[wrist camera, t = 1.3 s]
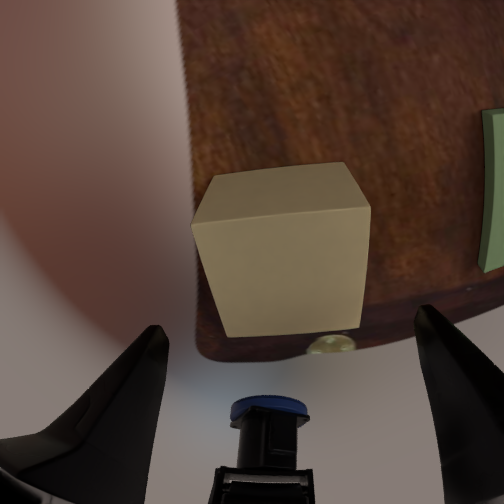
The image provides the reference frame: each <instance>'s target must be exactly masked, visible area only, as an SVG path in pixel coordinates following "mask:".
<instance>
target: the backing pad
mask: <svg viewBox="0 0 504 504" xmlns="http://www.w3.org/2000/svg"><path fill="white" fill-rule="evenodd" d="M482 119H483V131H484V148H485V196H484V213H483V225H482V235H481V243H480V251H479V258H478V265H479V266H480V268H481V269H482V271H483V272H484V273H485V272H488V271H491V270H493V269H496V268H499V267H501V266H504V108H501V109H491V110H482Z"/></svg>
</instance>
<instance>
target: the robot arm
mask: <svg viewBox="0 0 504 504" xmlns="http://www.w3.org/2000/svg"><path fill="white" fill-rule="evenodd" d="M414 331H415V336H416V341H417V347H418V353H419V359H420V365H421V369H422V373H423V377H424V380H425V385H426V389H427V393H428V398H429V402H430V406H431V411H432V415H433V421H434V426H435V431H436V437H437V443H438V449H439V454H440V462H441V471H442V479H443V489H444V501H445V504H504V373H503V372H502V371H501V370H500V369H499V368H498V367H497V366H496V365H494V363H493V362H492V361H491V360H490V359H489V358H488V357H487V356H486V355H485V354H484V353H483V352H482V351H481V350H480V349H479V348H478V347H477V346H476V345H475V344H474V343H472V342H471V341H470V340H469V339H468V338H467V337H466V336H465V335H464V334H463V333H462V332H461V331H460V330H459V329H457V328H456V327H455V326H454V325H453V324H452V323H451V322H450V321H449V320H448V319H447V318H445V317H444V316H443V315H442V314H441V313H440V312H439V311H438V310H436V309H435V308H434V307H433V306H432V305H430V304H426V305H421V306H419V308H418V310H417V314H416V317H415V320H414ZM168 353H169V339H168V337H167V336H166V334H165V332H164V330H163V328H162V327H161V326H160V325H150V326H149V327H147V328H146V329H145V330H144V331H143V333H141V334H140V336H138V338H137V339H136V340H135V341H134V342H133V343H132V344H131V345H130V346H129V347H128V348H127V349H126V350H125V351H124V352H123V353H122V354H121V355H120V356H119V357H118V358H117V359H116V360H115V361H114V362H113V363H112V364H111V365H110V366H109V368H107V369H106V371H105V372H104V373H103V374H102V375H101V376H100V377H99V378H98V379H97V380H96V381H95V382H94V383H93V384H92V385H91V386H90V388H89V389H87V390H86V391H85V393H83V395H82V396H81V397H80V398H79V399H78V400H77V401H76V402H75V403H74V404H73V405H71V407H69V408H68V409H67V410H66V411H65V412H64V413H63V414H61V415H60V416H59V417H58V418H57V419H56V420H55V421H53V422H52V423H51V424H50V425H49V426H48V427H46V428H45V429H44V430H42V431H40V432H38V433H36V434H31V435H25V436H19V437H13V438H7V439H0V467H1V468H0V504H144V501H145V494H146V486H147V481H148V477H147V476H148V473H149V466H150V461H151V455H152V448H153V443H154V438H155V432H156V427H157V421H158V416H159V411H160V406H161V401H162V396H163V391H164V386H165V381H166V372H167V362H168ZM309 420H310V416H309V415H304V414H298V413H292V412H287V411H281V410H276V409H271V408H266V407H261V406H256V405H253V406H250V407H249V408H248V409H246V410H245V411H244V412H243V413H242V414H241V415H239V416H238V417H237V418H236V419H235V420H233V421H232V422H231V424H230V427H232V428H236V429H240V439H239V449H238V459H237V468H229V467H226V466H221V467H220V468H216V469H215V477H214V483H213V487H212V490H211V494H210V498H209V502H208V504H315V494H314V481H313V470H312V469H306V470H296V467H297V463H296V462H297V428H298V427H300V426H301V425H303V424H305V423H306V422H308V421H309ZM229 480H239V481H232V482H231V483H229ZM241 481H253V482H241ZM257 482H300V483H257Z"/></svg>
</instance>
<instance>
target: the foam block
mask: <svg viewBox="0 0 504 504" xmlns="http://www.w3.org/2000/svg"><path fill="white" fill-rule="evenodd" d="M370 217H371V207H370V205H369V203H368V201H367V200H366V198H365V196H364V195H363V193H362V191H361V190H360V188H359V186H358V185H357V183H356V181H355V180H354V178H353V176H352V175H351V173H350V172H349V170H348V168H347V167H346V165H345V164H344V162H334V163H321V164H309V165H298V166H287V167H278V168H269V169H260V170H252V171H244V172H237V173H230V174H223V175H216V176H214V177H213V179H212V181H211V183H210V185H209V187H208V189H207V191H206V193H205V195H204V197H203V199H202V201H201V203H200V205H199V207H198V209H197V211H196V214H195V216H194V218H193V220H192V222H191V224H190V226H191V229H192V233H193V236H194V239H195V242H196V245H197V249H198V252H199V255H200V258H201V261H202V264H203V267H204V270H205V273H206V277H207V280H208V283H209V286H210V289H211V292H212V294H213V297H214V300H215V303H216V306H217V309H218V312H219V315H220V318H221V321H222V323H223V326H224V329H225V332H226V335H227V337H252V336H272V335H288V334H301V333H313V332H324V331H334V330H344V329H353V328H359V325H360V319H361V312H362V305H363V297H364V289H365V280H366V270H367V260H368V248H369V234H370Z"/></svg>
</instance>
